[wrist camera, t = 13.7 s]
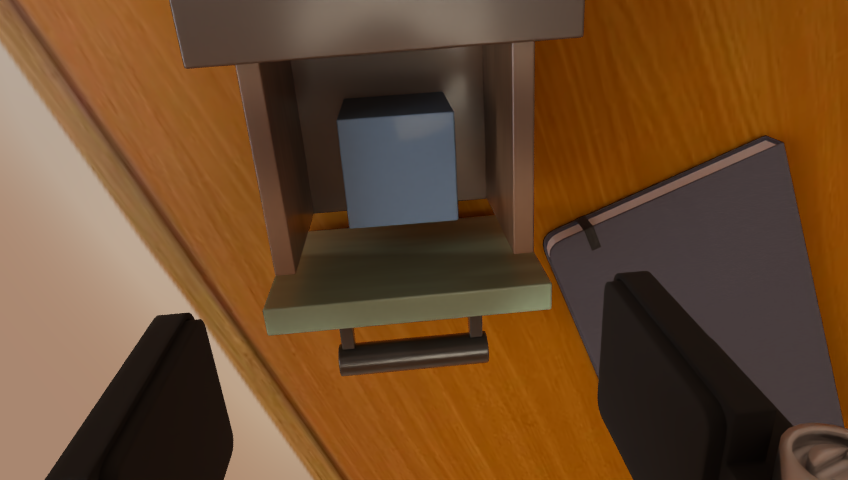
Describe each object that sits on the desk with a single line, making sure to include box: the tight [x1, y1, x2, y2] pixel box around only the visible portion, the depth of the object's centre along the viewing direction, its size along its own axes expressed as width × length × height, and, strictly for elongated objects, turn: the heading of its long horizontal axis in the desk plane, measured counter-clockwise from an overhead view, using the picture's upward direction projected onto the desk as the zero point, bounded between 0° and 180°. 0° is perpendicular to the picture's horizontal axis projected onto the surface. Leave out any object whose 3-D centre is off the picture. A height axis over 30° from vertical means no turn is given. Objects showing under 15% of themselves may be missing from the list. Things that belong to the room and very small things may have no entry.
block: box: [336, 92, 458, 229], centre depth 25 cm, size 4×4×4 cm
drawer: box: [235, 41, 552, 376], centre depth 25 cm, size 18×11×8 cm, turn 4°
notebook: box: [543, 136, 844, 428], centre depth 35 cm, size 13×2×21 cm
